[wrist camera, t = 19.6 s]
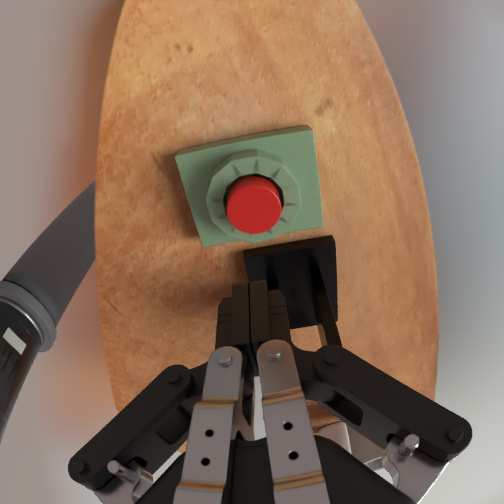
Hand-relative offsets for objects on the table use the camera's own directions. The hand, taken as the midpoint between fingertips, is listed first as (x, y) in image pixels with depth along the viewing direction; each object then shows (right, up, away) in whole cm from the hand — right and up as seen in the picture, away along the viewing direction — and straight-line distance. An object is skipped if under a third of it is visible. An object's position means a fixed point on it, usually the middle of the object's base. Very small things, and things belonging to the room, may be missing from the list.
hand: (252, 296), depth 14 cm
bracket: (+4, -1, +16) cm, 16 cm away
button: (0, +6, +7) cm, 9 cm away
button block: (0, +7, +10) cm, 12 cm away
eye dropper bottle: (+15, -31, +36) cm, 49 cm away
